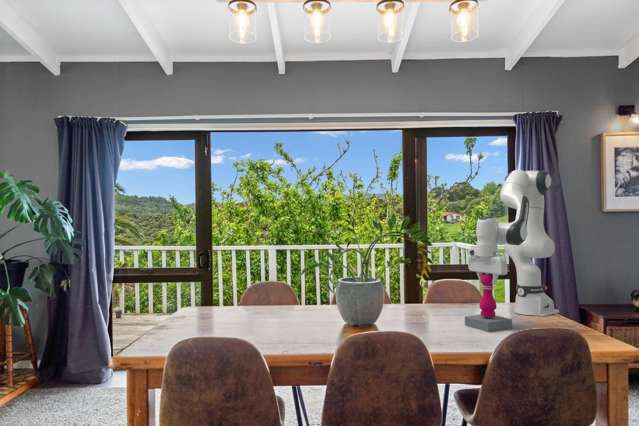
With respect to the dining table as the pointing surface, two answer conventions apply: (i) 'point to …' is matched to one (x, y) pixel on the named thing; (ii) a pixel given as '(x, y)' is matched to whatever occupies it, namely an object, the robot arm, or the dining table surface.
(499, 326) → the riser
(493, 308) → the pepper mill
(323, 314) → the dining table surface
